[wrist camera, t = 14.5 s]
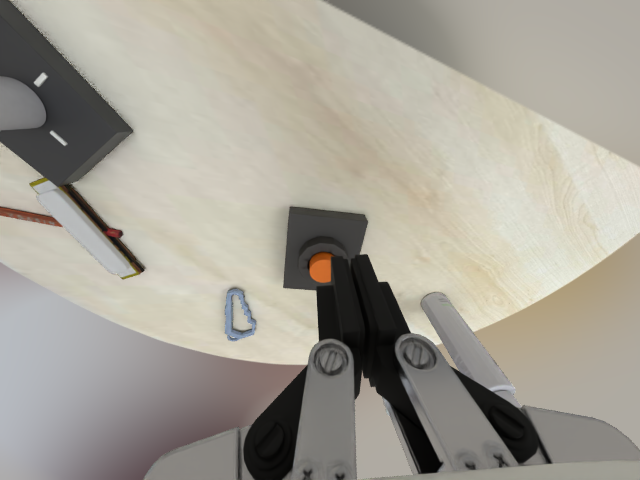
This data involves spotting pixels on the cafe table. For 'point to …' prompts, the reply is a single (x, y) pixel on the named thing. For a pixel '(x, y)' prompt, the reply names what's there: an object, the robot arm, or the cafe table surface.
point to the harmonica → (86, 227)
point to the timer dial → (19, 106)
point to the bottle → (466, 347)
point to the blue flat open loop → (229, 317)
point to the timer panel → (55, 105)
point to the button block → (319, 242)
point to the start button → (321, 267)
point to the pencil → (46, 220)
